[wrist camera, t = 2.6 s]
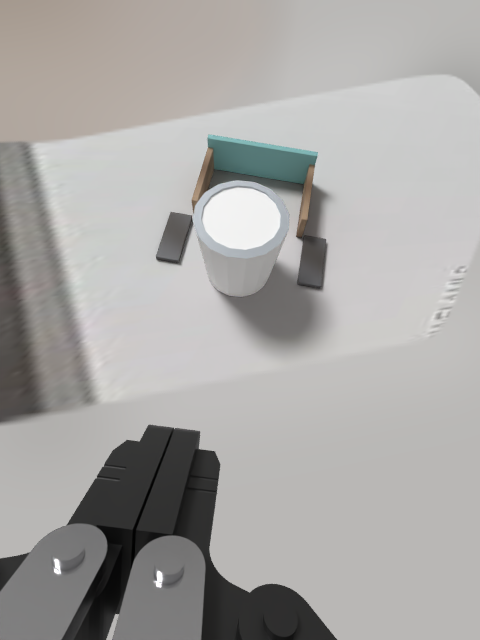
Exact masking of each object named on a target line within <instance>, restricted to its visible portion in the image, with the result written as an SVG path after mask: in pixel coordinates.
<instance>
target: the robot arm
mask: <svg viewBox="0 0 480 640" xmlns="http://www.w3.org/2000/svg"><path fill="white" fill-rule="evenodd" d="M199 440H200V431H195V430H187V429H179V428H175V430H174V428H171V427H163V426H156V425H148V427H147V429H146V431H145V432H144V434H143V437H142V438H141V440H140V442H138V441H131V440H127V441H125V442H124V443H123V444H121V445H120V446H119V447H117V448H116V449H114V450H113V451H112V453H111V454H110V456H109V458H108V459H107V461H106V462H105V465H104V467H102V469H101V471H100V472H99V474H98V476H97V479H95V480H94V482H93V484H92V485H91V487H90V488H89V490H88V492H87V493H86V495H85V497H84V498H83V500H82V501H81V503H80V505H79V506H78V508H77V509H76V511H75V513H74V514H73V516H72V517H71V519H70V521H69V523H68V524H67V525H66V526H63V527H61V528H58V529H56V530H54V531H52V532H51V533H49V534H48V535H46V536H45V537H44V538H43V539H41V540H40V541H39V542H38V543H37V545H36V546H35V547H34V548H33V550H32V551H31V552H30V553H27V554H23V555H18V556H14V557H7V558H1V559H0V640H106V638H107V636H108V633H109V630H110V627H111V624H112V621H113V618H114V615H115V614H119V617H118V620H117V624H116V628H115V631H114V635H113V639H112V640H337V639H336V638H335V637H334V635H333V634H332V633H331V632H330V630H329V629H328V628H327V627H326V626H325V624H324V623H323V622H322V621H321V619H320V618H319V617H318V616H317V614H316V613H315V612H314V611H313V609H312V608H311V607H310V606H309V604H308V603H307V602H306V601H305V600H304V599H303V598H302V597H301V596H300V595H299V594H298V593H297V592H295V591H293V590H292V589H290V588H287V587H285V586H282V585H278V584H266V585H262V586H259V587H257V588H255V589H254V590H252V591H251V592H250V593H249V592H247V591H245V590H243V589H241V588H239V587H237V586H235V585H233V584H232V583H230V582H228V581H227V580H226V579H225V578H223V577H222V576H221V575H220V574H219V573H218V571H217V570H216V568H215V567H214V565H213V563H212V561H211V557H210V553H209V546H210V539H211V531H212V524H213V516H214V509H215V502H216V494H217V486H218V479H219V471H220V463H219V460H218V458H217V456H216V453H215V452H214V451H208V450H200V449H199Z"/></svg>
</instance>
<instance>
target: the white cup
mask: <svg viewBox="0 0 480 640" xmlns="http://www.w3.org/2000/svg"><path fill="white" fill-rule="evenodd" d="M193 224H194V228H195V231H196V235H197V238H198V242H199V246H200V249H201V253H202V256H203V260H204V264H205V267H206V271H207V274H208V277H209V280H210V282H211V283H212V284H213V286H214V287H215V288H216V289H217V290H218V291H220V292H222V293H224V294H226V295H228V296H236V297H244V296H248V295H252V294H254V293H256V292H257V291H259V290H260V289H261V288H263V287H264V285H265V283H266V282H267V280H268V278H269V276H270V274H271V271H272V269H273V267H274V264H275V262H276V259H277V257H278V254H279V252H280V250H281V247H282V245H283V242H284V240H285V237H286V235H287V233H288V230H289V213H288V210H287V208H286V206H285V204H284V201H283V200H282V199H281V198H280V197H279V196H278V195H277V194H276V193H275V192H274V191H272V190H271V189H270V188H267V187H265V186H263V185H260V184H258V183H256V182H249V181H239V180H235V181H231V182H226V183H221V184H218V185H216V186H215V187H213V188H211V189H210V190H208V191H206V192H205V193H204V194H203V195H202V197H201V198H200V200H199V201H198V202H197V204H196V205H195V209H194V215H193Z"/></svg>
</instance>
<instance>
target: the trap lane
mask: <svg viewBox="0 0 480 640" xmlns="http://www.w3.org/2000/svg"><path fill="white" fill-rule="evenodd" d="M314 167H315V165H311V164H309V168H308V172H307V175H306V179H305V183H304V188H303V195H302V202H301V208H300V215H299V222H298V228H297V235H296V237H301V238H302V235H303V232H304V228H305V225H306V222H307V218H308V211H309V204H310V196H311V189H312V182H313V175H314ZM213 171H214V154H213V148H209V147H208V149H207V152H206V156H205V159H204V162H203V165H202V169H201V172H200V175H199V178H198V181H197V185H196V188H195V191H194V194H193V197H192V206H193V214H194V209H195V205H196V204H197V202H198V201H199V200H200V198H201V197H202V195H203V194H204V193H205V192H206V191H208V188H209V185H210V182H211V178H212V175H213ZM191 220H192V216H191V215H185V214H180V213H174V212H171V213H170V216H169V219H168V222H167V225H166V228H165V231H164V234H163V237H162V240H161V243H160V246H159V248H158V251H157V254H156V259H159V260H165V261H171V262H176V263H179V260H180V257H181V254H182V250H183V247H184V244H185V240H186V237H187V234H188V230H189V227H190V224H191ZM325 246H326V239H323V238H317V237H311V236H306V235H305V236H304V239H303V246H302V254H301V261H300V268H299V275H298V282H297V284H298V285H303V286H309V287H315V288H320V287H321V283H322V273H323V264H324V255H325Z"/></svg>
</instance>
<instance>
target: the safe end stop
mask: <svg viewBox="0 0 480 640" xmlns="http://www.w3.org/2000/svg"><path fill="white" fill-rule="evenodd" d="M208 147H209V148H213V154H214V169H217V170H223V171H229V172H235V173H241V174H247V175H252V176H258V177H264V178H270V179H276V180H282V181H288V182H294V183H300V184H304V183H305V179H306V175H307V172H308V168H309V164H311V165H315V163H316V159H317V155H318V152H313V151H307V150H301V149H295V148H288V147H282V146H276V145H270V144H264V143H258V142H252V141H246V140H240V139H234V138H228V137H222V136H215V135H208Z"/></svg>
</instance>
